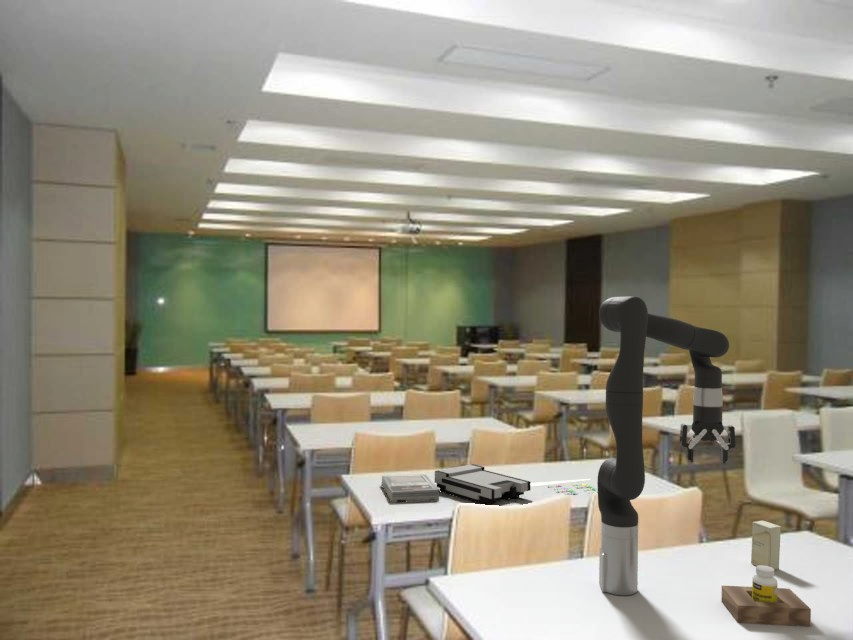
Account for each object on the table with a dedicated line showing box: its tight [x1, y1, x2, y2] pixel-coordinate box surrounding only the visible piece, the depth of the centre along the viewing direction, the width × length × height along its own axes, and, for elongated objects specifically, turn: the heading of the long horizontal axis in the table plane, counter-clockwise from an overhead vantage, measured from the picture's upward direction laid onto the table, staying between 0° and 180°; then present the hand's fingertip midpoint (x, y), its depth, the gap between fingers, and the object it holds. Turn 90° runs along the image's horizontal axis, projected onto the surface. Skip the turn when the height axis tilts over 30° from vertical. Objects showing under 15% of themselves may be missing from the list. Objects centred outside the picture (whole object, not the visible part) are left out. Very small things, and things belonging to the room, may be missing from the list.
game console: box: [434, 463, 532, 505], centre depth 277 cm, size 21×32×8 cm, turn 39°
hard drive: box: [381, 473, 440, 503], centre depth 279 cm, size 18×27×4 cm
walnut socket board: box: [720, 585, 812, 627], centre depth 169 cm, size 16×12×4 cm
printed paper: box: [530, 478, 598, 495], centre depth 286 cm, size 30×30×2 cm
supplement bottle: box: [751, 565, 778, 603], centre depth 169 cm, size 5×5×10 cm
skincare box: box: [750, 520, 782, 571], centre depth 201 cm, size 6×4×12 cm
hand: (706, 462), depth 196 cm, fingers open, 8 cm apart
